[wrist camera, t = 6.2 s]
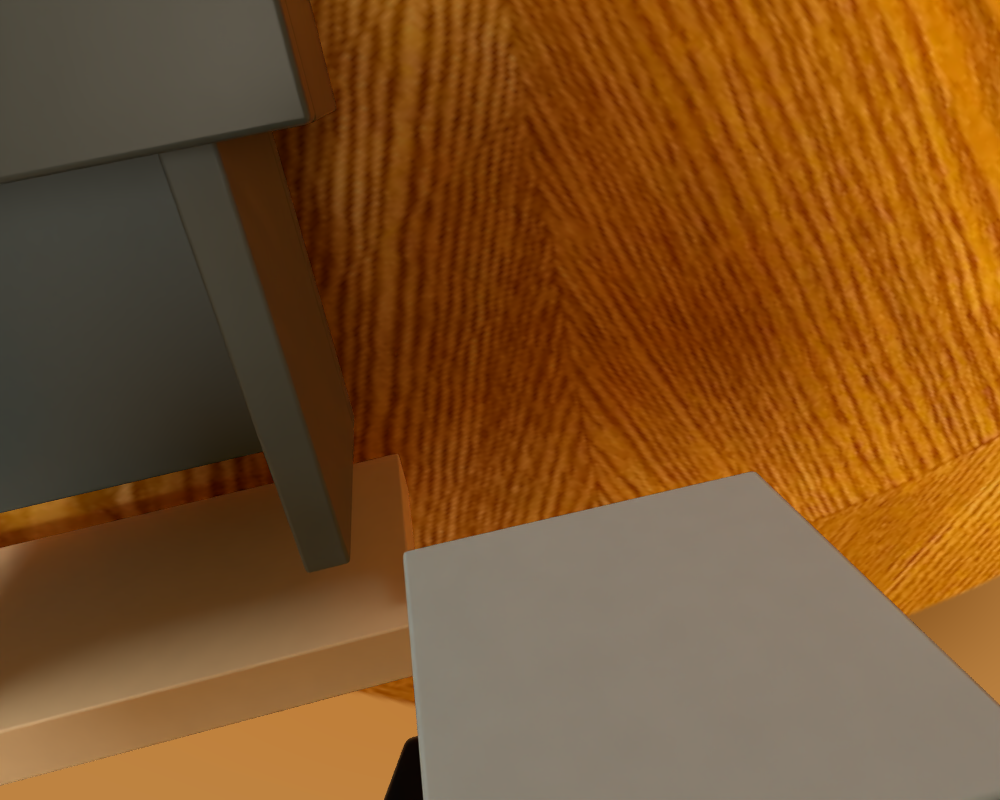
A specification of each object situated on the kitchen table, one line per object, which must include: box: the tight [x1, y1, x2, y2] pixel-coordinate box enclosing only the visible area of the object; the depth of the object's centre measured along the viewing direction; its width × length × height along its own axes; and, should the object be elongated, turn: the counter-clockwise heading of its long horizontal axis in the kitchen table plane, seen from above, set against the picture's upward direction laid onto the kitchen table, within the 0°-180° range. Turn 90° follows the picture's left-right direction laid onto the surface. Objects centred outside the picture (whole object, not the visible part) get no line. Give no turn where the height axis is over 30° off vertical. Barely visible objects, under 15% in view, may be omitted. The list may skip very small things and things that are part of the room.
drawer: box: [0, 132, 415, 785], centre depth 14 cm, size 14×12×7 cm
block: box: [403, 472, 1000, 800], centre depth 8 cm, size 5×5×5 cm
